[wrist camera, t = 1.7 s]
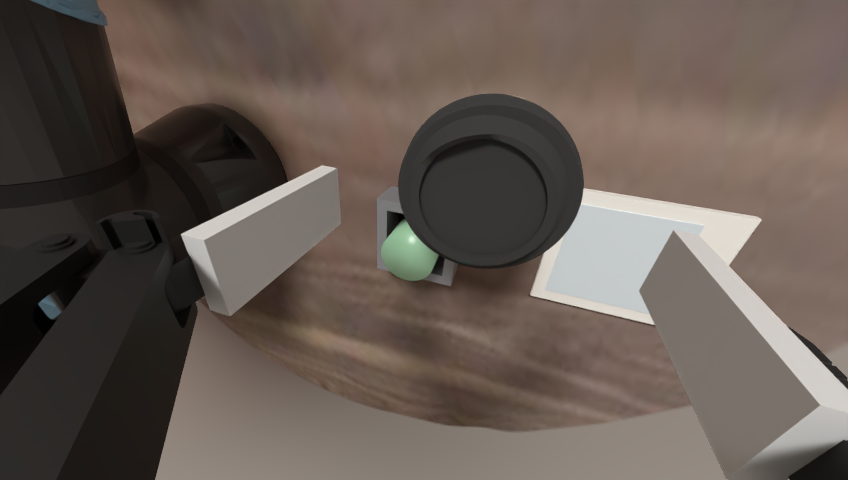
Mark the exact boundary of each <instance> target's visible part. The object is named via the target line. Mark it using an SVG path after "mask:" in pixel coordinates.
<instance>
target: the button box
mask: <svg viewBox="0 0 848 480" xmlns="http://www.w3.org/2000/svg"><path fill="white" fill-rule="evenodd" d="M399 213H402V214H403V212H402V209H401V205H400V200H399V192H398V187H394V186H390V187H389V188H388V189H387V190H386V191H385V192H384V193H383V194H382V195H380V196H379V197H378V198H377V268H378V269H382V270H386V271H389V270H388V268H387V267H386V266H385V264H384V262H383V260H382V256H381V248H382V245H383V243H384V241H385V240H386V239H387V238H388V236H389V235H390V234H391V233H392V231H393V230H394V229H395V228H396V226H397V225H398V224H399ZM457 267H458V264H457V263H455V262H452V261H450V260H447V259H445V258H443V257H441V256H440V255H439V256H438V259H437V261H436V263H435V265H434V267H433V269H432V271H431V273H430V274H429V275H428V276H427V277H425V278H424V279H423V280H427V281H431V282H435V283H439V284H443V285H447V286H451V285H452V282H453V279H454V276H455V273H456V270H457Z"/></svg>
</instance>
